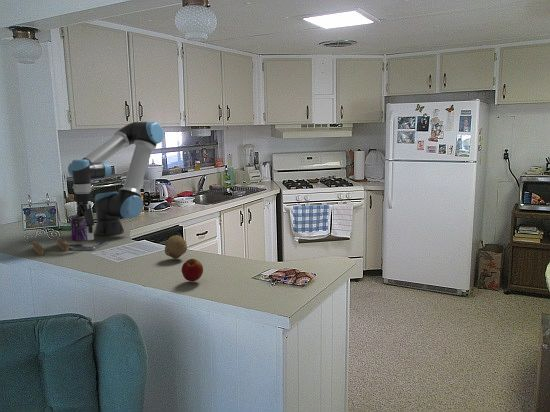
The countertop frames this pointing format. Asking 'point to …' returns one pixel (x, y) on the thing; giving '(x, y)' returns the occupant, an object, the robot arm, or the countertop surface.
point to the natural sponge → (175, 247)
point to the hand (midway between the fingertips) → (86, 237)
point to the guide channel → (60, 243)
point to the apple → (192, 270)
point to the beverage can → (78, 228)
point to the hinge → (88, 247)
